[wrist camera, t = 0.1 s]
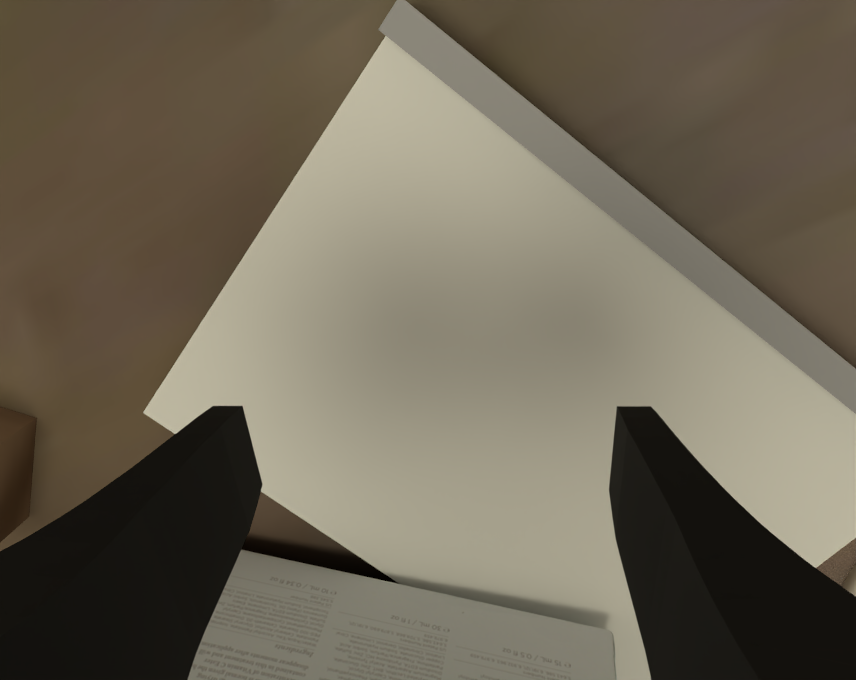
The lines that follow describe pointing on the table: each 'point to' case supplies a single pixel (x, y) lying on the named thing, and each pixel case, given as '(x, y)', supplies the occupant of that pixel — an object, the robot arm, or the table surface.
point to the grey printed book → (382, 632)
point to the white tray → (502, 350)
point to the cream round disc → (851, 581)
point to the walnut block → (15, 468)
